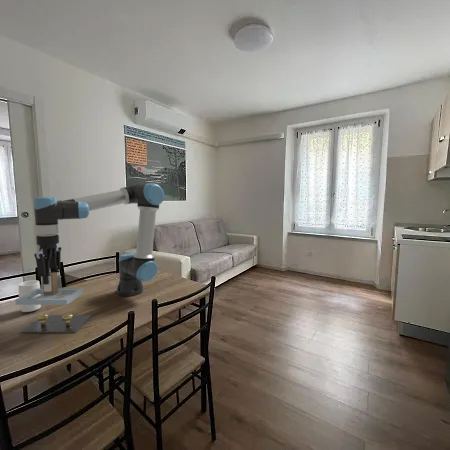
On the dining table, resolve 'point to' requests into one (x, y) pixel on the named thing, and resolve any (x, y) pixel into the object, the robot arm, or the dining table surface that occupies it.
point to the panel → (49, 295)
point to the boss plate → (57, 323)
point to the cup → (26, 288)
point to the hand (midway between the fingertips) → (51, 289)
